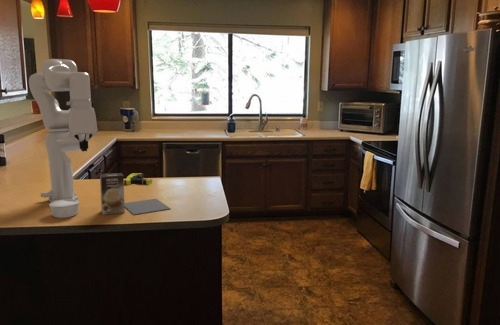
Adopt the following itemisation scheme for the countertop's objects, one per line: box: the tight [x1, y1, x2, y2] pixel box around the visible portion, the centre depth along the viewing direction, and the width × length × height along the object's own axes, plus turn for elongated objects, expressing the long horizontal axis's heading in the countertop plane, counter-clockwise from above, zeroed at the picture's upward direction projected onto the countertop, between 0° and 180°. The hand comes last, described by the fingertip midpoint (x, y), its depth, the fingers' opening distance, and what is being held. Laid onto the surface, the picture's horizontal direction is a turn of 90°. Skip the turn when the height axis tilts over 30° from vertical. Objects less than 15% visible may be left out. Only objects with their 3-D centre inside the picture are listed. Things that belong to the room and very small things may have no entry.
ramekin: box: [48, 199, 80, 219], centre depth 173 cm, size 11×11×5 cm
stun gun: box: [124, 172, 153, 186], centre depth 233 cm, size 3×19×15 cm
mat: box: [124, 198, 171, 216], centre depth 185 cm, size 16×18×1 cm
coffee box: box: [99, 172, 126, 215], centre depth 177 cm, size 9×6×16 cm
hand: (84, 150), depth 168 cm, fingers closed
